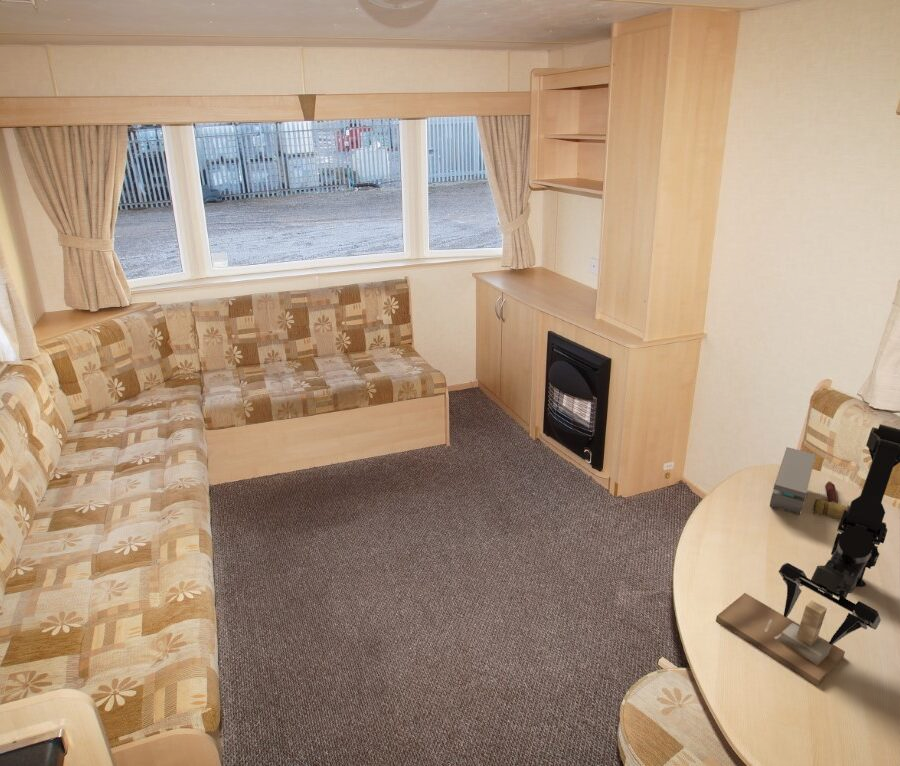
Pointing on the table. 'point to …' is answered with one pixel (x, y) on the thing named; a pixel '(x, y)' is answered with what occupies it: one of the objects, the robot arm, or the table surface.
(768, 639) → the walnut board
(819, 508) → the gavel
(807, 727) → the table surface
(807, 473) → the grey rectangular box
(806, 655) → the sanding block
